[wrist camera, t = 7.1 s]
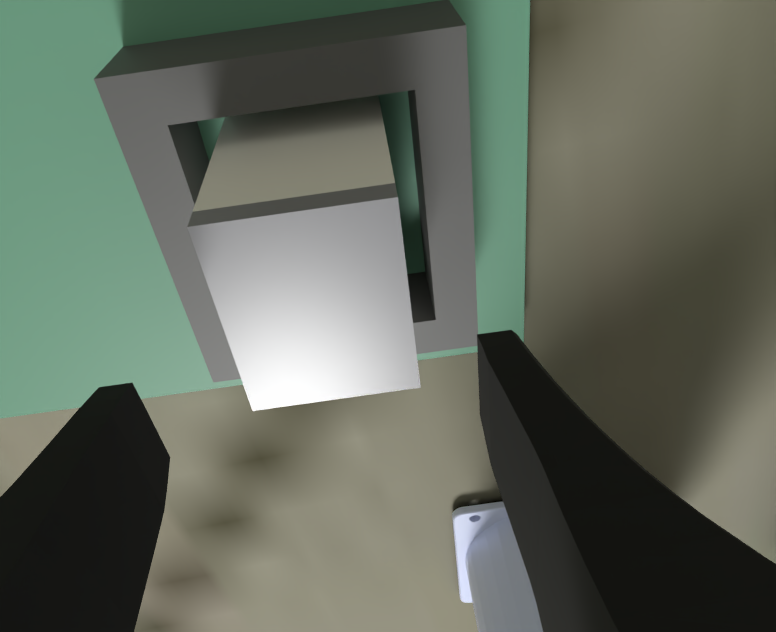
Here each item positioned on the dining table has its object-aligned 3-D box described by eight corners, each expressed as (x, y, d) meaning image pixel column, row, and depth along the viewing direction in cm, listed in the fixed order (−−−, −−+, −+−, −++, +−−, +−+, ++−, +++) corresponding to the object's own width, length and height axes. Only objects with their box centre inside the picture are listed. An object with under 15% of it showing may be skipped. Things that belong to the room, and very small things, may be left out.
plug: (377, 91, 17) (397, 197, 12) (398, 252, 20) (420, 387, 15) (226, 113, 17) (187, 227, 12) (270, 270, 20) (252, 410, 15)
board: (521, -140, 15) (566, -132, 12) (516, 327, 23) (542, 395, 21) (-411, -3, 15) (-579, 36, 12) (-76, 410, 24) (-130, 488, 21)
